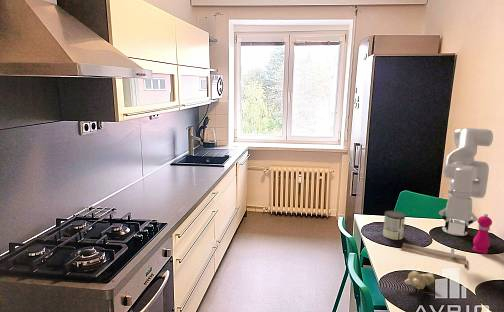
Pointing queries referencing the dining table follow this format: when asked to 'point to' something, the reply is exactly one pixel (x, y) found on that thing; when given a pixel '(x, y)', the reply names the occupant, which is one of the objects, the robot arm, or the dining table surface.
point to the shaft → (452, 253)
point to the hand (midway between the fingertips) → (455, 230)
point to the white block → (456, 226)
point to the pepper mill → (482, 235)
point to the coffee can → (394, 225)
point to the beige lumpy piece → (419, 279)
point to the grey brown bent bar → (434, 253)
